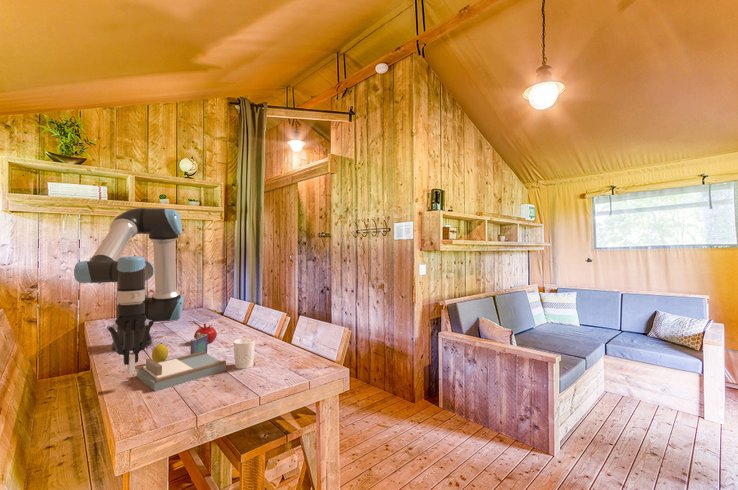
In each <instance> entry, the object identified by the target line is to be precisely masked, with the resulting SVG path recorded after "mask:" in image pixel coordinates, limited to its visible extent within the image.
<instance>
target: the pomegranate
mask: <svg viewBox="0 0 738 490" xmlns="http://www.w3.org/2000/svg"><path fill="white" fill-rule="evenodd" d="M196 333H197V334H198V333H201V334H200V335H202V334H207V335H208V341H207V344H209V343H213V342H214V341H215V340H216V338H217V335H218V332H217V330H216V329H215V328H214V327H213V326H212V325H209V326H207V323H203V326H201V325H200V326H198V328H197V329H196V331H195V333H194V335H193V338H195V337H197V334H196Z"/></svg>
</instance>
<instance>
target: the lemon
mask: <svg viewBox="0 0 738 490" xmlns="http://www.w3.org/2000/svg"><path fill="white" fill-rule="evenodd" d="M168 356H169V350H168V347H167V346H166V345H164V344H161V343H159V344H158V345H156V346H154V348H153V349H152V351H151V359H152V360H154V361H155V362H161V361H165V360H167V358H168Z"/></svg>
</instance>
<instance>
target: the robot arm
mask: <svg viewBox="0 0 738 490" xmlns="http://www.w3.org/2000/svg"><path fill="white" fill-rule="evenodd" d="M182 224H183V223H182V218H181V215H180V212H179V211H177V209H172V208H156V207H155V208H152V207H150V208H149V207H136V208H132V209H128V210H126V211H124V212H122V213H120V214H119V215H117V216H116V217H114V219H113V220H112V221H111V223H110V225H109V229H110V230H109V231H108V233H107V234H106V236H105V237H104V239H103V240H102V242H101V243H100V244H99V246H98V247H97V249H96V251H95V252H94V254H93V255H92V257H91V258H90V259H89V261H88V260H83V261H78V262H77V263H76V264H75V265H74V269H73V275H74V279H75V281H76V282H77V283H81V284H101V283H102V284H104V283H117V288H116V289H117V292H116V293H117V294H116V296H117V301H116V302H117V304H116V319H115V321H114V322H115V323H113V324H111V325H108V326H107V327H106V329H107V331H108V332H109V333H110V335H111V338H112V339H111V340H112V344H111V349H112V350H113V351H116V353H117V354H118V355H120V356H122V355H123V364H124V365H125V366H126V373H127V374H128V376H131V375H134V374H135V371H136V370H135V369H136V363H139V353H140V352H142V351H144V350H145V349H146V347H149V346H151V345H152V343H153V339H152V335H151V333H150V331H151V328H152V327H153V325H154V324H155V323H161V322H163V323H164V322H174V321H179V320H180V319H181V317H182V314H183V310H184V303H185V296H183V295H181V291H179V290H178V289H177V274H176V272H177V270H176V269H177V267H176V266H177V265H176V244H175V243H176V241H177V240H178V239H179V235H182V233H183V225H182ZM141 234H143V235H148V239H149V241H151V242H152V244H153V245H152V247H153V250H152V251H153V263H152V262H150V261H148V260H146V259H145V257H144V256H139V255H138V256H137V255H135V256H130V255H129V256H122V255H123V252H124V251H125V249H126V248H127V246H128V244H129V242H130V240H131V239H132V238H134V237H135V236H136V235H141ZM153 276H154V292H153V293H152V294H151V297H149V295H148V294H146V281H148V280H150V279H151V278H152V277H153ZM130 351H132V352H130Z"/></svg>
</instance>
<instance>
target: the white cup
mask: <svg viewBox="0 0 738 490" xmlns="http://www.w3.org/2000/svg"><path fill="white" fill-rule="evenodd" d="M255 347H256V338H251V337H243V338H238V339H235V340H234V341H233V355H234V356H233V358H234V367H235V368H236V369H239V370H244V369H250V368H252V367H253V366H254V358H255V349H256V348H255Z"/></svg>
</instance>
